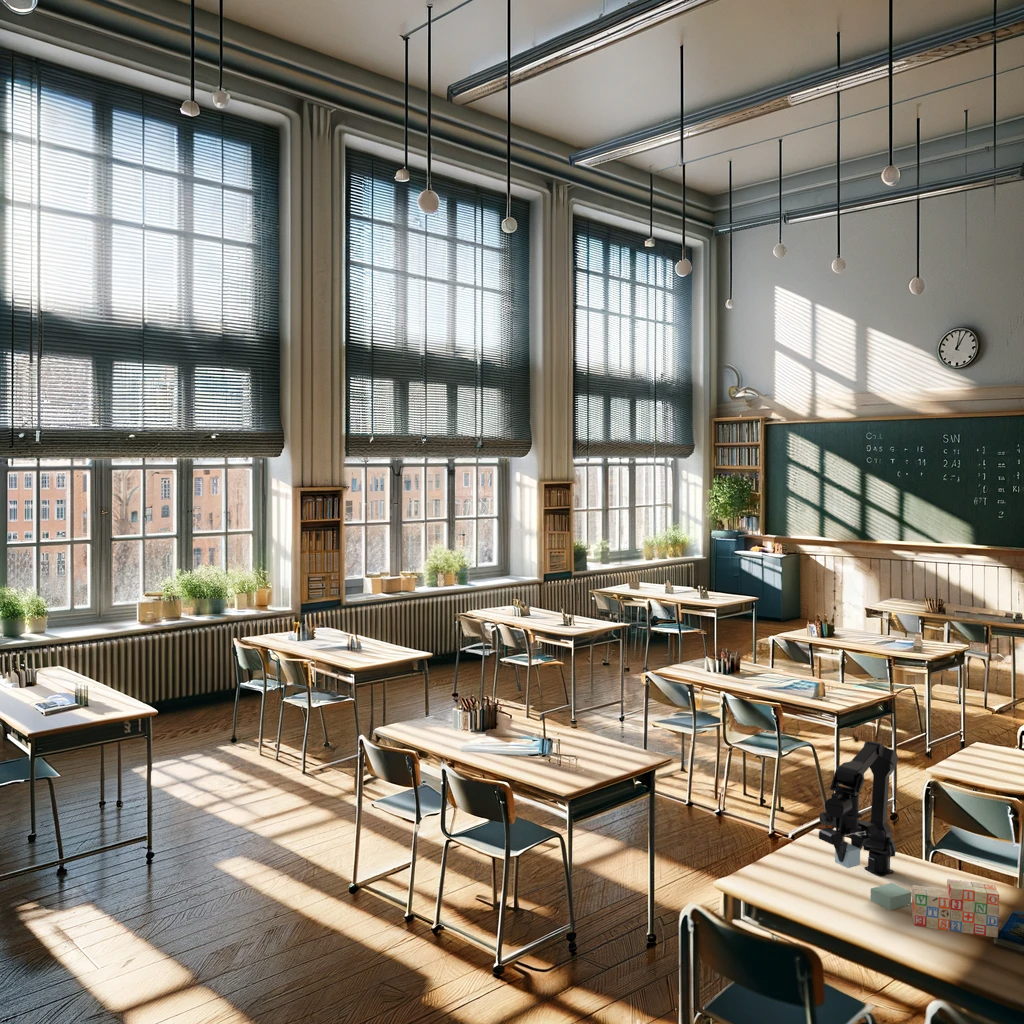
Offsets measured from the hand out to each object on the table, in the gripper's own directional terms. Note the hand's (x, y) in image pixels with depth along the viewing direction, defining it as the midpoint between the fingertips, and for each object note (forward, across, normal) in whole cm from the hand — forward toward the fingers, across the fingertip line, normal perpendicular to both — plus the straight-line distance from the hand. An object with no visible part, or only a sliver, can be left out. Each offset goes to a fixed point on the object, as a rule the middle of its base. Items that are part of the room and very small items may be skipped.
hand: (847, 860), depth 279 cm
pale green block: (+11, -8, +9) cm, 17 cm away
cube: (+1, 0, 0) cm, 1 cm away
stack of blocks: (+11, -12, +27) cm, 32 cm away
